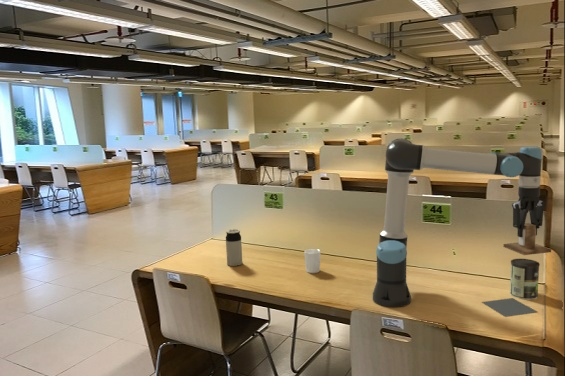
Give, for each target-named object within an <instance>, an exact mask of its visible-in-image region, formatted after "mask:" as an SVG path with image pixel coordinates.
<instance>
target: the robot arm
mask: <svg viewBox="0 0 565 376" xmlns="http://www.w3.org/2000/svg"><path fill="white" fill-rule="evenodd" d="M542 154H543V153H542V149H541V147H539V146H522V147H520V148H519V152H517V151H516V152H489V153H486V152H485V153H483V152H473V151H471V152H470V151H461V150H460V151H459V150H449V149H438V148H426V147H425V146H424V144H422V145H421V144H415V143H412V141H411V140H408V139H406V138H395V139H393V140H392V141H390V142H389V143H388V145H387V147H386V150H385V164H384V171H385V172H386V173H387V175H388V176H387V186H386V187H387V188H386V197H385V198H386V199H385V211H384V219H383V220H384V222H383V229H382V230H381V231H379V239H378V241H379V242H378V244H377V245H376V251H375V253H376V283H375V285H374V289H373V291H372V301H373V302H374V303H375V304H377V305H379V306H381V307H388V308H389V307H390V308H401V307H405V306H408V305H409V304H410V303H411V298H412V296H411V292H410V289H409V287H408V284H407V256H408V250H407V247H408V233H406V231H405V228H406V217H407V205H408V193H409V183H410V176H411V175H412V174H413V173H414V170H415V171H416V170H417V171H421V170H423V169H431V170H432V169H433V170H434V169H435V170H441V171H442V170H443V171H453V172H455V171H456V172H466V173H477V174H485V175H496V176H505V177H507V178H516V177H518V197H519V198H518V199H517V201H516V202H515V203H514V202H512V203H511V207H512V226H513V228H516V229H517V234H516V235H517V237H518V241H517V243H518V244H520V245H523V246H525V229H524V225H525V223H526V220H527V215H528V213H529V219H530V220H529V221H530V224H533V225H536V233H535V239H536V236H537V235H538V229H540V228H541V227H543V221H544V209H545V205H546V201H542V200H540V198H539V197H540V196H541V181H542V180H541V179H542V177H541V176H542V175H541V174H542V160H543V158H542Z"/></svg>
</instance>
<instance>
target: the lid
mask: <svg viewBox="0 0 565 376" xmlns="http://www.w3.org/2000/svg"><path fill="white" fill-rule="evenodd" d="M524 229H525V246H523V245H520V244H518V242H510V243H503V245H502V246H503V248H506V249H508V250H510V251H513V252H515V253H517V254H521V255H523V256H529V255H538V254H548V253H552V249H551V248H550V247H546V246H543V245H540V244H537V243H536V238H535V233H536V225H533V224H531V222H530V223H529V222H528V223H526V222H525V225H524Z"/></svg>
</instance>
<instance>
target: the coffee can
mask: <svg viewBox="0 0 565 376" xmlns="http://www.w3.org/2000/svg"><path fill="white" fill-rule="evenodd" d="M539 274H540V262H538V261H536V260H533V259H529V258H513V259H511V260H510V279H509V280H510V283H509V285H510V286H509V287H510V288H509V294H510V295H511V296H512V297H513V298H516V299H521V300H527V301H529V300H536V299H537V298H538V297H539V294H538V293H539V279H540V278H539Z"/></svg>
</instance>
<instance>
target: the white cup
mask: <svg viewBox="0 0 565 376" xmlns="http://www.w3.org/2000/svg"><path fill="white" fill-rule="evenodd" d="M303 251H304V254H303V255H304V264H305V271H306V273H308V274H316V273H319V272H320V267H321V250H320V249H316V248H310V249H309V248H308V249H305V250H303Z"/></svg>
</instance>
